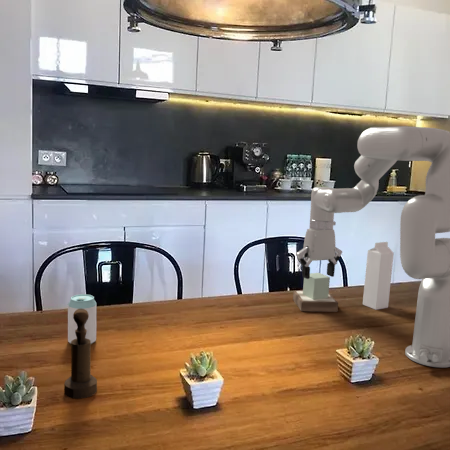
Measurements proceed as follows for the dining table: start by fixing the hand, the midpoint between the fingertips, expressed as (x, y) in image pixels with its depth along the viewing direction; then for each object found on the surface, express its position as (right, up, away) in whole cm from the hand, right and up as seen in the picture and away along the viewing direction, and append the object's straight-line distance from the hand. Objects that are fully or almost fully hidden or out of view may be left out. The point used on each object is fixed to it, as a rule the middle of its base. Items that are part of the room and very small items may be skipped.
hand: (318, 276), depth 175 cm
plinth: (-1, -10, +2) cm, 10 cm away
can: (-68, -13, -37) cm, 78 cm away
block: (-1, -7, +2) cm, 7 cm away
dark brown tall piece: (-61, -18, -63) cm, 90 cm away
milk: (+20, -11, +5) cm, 23 cm away
